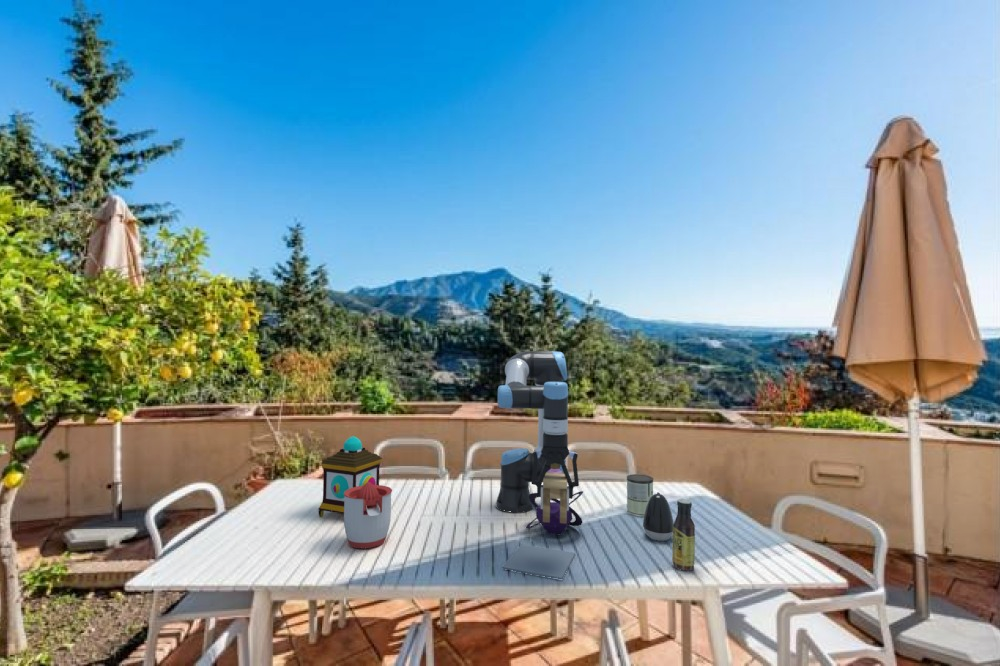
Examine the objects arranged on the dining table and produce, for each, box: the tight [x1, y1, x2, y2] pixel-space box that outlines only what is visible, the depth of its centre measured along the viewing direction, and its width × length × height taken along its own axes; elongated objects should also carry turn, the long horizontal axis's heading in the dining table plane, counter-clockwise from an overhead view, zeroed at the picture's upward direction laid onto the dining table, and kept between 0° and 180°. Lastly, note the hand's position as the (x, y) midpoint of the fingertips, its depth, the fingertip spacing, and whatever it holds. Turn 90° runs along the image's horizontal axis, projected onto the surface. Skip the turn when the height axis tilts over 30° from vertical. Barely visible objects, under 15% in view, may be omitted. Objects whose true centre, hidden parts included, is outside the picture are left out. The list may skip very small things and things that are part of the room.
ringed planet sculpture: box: [524, 463, 584, 535], centre depth 170 cm, size 22×21×25 cm
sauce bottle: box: [671, 498, 696, 571], centre depth 142 cm, size 6×6×20 cm
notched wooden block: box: [542, 472, 568, 523], centre depth 144 cm, size 10×7×12 cm
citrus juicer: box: [343, 482, 393, 549], centre depth 157 cm, size 16×17×20 cm
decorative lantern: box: [318, 436, 383, 518], centre depth 186 cm, size 20×20×30 cm
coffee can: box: [626, 473, 654, 518], centre depth 191 cm, size 10×10×14 cm
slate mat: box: [501, 543, 576, 580], centre depth 144 cm, size 18×18×1 cm
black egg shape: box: [642, 491, 674, 542], centre depth 164 cm, size 10×10×15 cm
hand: (554, 508), depth 144 cm, fingers closed on notched wooden block, 7 cm apart
